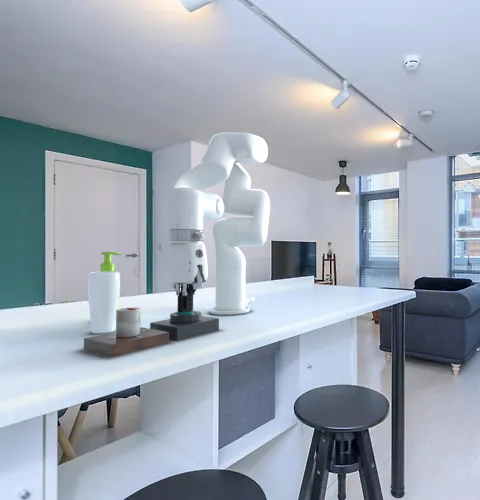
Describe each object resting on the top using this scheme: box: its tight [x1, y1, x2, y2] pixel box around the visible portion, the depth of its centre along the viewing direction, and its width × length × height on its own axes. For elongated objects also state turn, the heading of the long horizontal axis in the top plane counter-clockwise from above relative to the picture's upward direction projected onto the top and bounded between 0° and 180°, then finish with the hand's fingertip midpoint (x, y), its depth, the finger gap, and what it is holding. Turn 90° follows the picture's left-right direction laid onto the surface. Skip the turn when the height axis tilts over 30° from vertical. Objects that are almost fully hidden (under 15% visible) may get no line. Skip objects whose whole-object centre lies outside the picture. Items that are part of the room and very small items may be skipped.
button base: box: [149, 310, 220, 342], centre depth 87 cm, size 12×10×5 cm
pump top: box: [176, 309, 196, 315], centre depth 87 cm, size 4×4×2 cm
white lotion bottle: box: [86, 271, 121, 335], centre depth 88 cm, size 7×7×15 cm
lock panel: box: [83, 326, 170, 358], centre depth 74 cm, size 12×10×3 cm
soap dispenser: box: [100, 251, 123, 309], centre depth 101 cm, size 6×7×20 cm
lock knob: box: [115, 307, 141, 337], centre depth 74 cm, size 4×4×6 cm
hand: (185, 311), depth 87 cm, fingers closed
